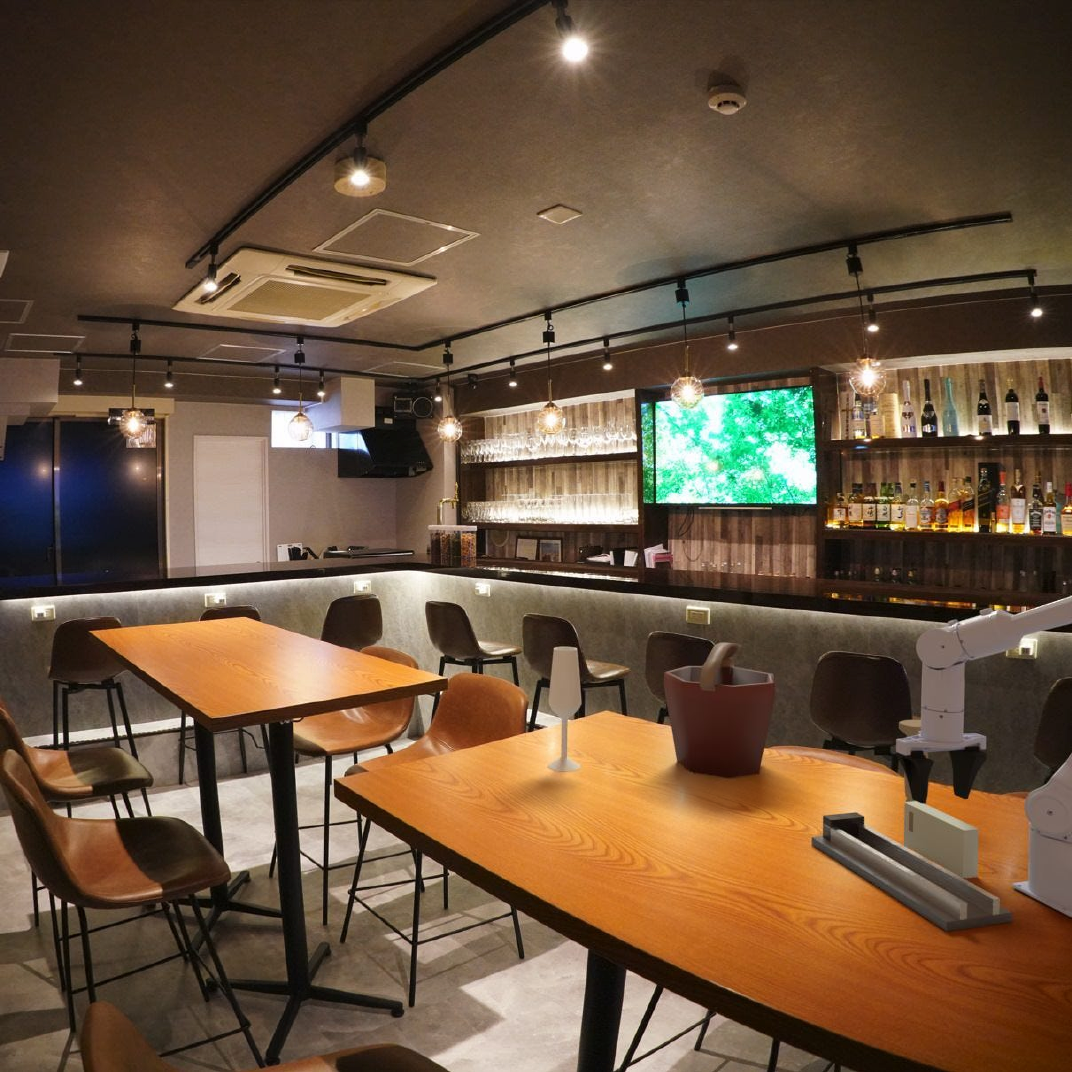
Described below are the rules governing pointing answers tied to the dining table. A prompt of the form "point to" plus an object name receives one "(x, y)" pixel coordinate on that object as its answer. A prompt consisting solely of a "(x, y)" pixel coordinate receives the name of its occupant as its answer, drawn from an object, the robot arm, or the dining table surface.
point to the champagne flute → (564, 698)
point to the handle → (910, 730)
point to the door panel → (941, 839)
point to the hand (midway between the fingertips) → (940, 799)
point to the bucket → (719, 714)
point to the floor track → (908, 875)
